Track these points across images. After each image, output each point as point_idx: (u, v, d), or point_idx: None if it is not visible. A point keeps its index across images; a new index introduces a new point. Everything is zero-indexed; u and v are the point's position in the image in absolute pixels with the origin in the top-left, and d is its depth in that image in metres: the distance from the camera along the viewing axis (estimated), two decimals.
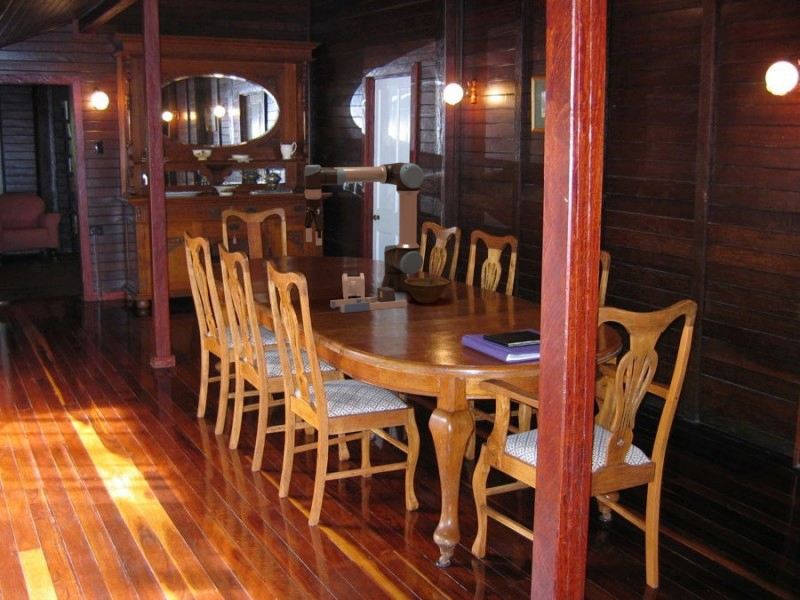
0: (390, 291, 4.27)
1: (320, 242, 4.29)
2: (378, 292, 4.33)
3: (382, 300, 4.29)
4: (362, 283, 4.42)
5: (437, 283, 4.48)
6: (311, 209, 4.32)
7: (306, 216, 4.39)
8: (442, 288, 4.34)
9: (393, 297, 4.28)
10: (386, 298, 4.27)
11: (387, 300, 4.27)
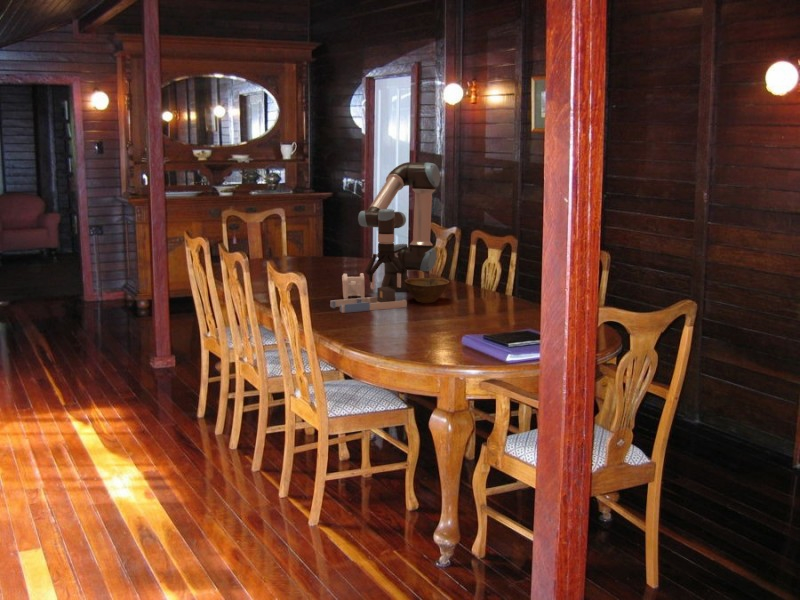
0: (390, 291, 4.27)
1: (372, 286, 4.26)
2: (378, 292, 4.33)
3: (382, 300, 4.29)
4: (362, 283, 4.42)
5: (437, 283, 4.48)
6: None
7: (397, 261, 4.32)
8: (442, 288, 4.34)
9: (393, 297, 4.28)
10: (386, 299, 4.27)
11: (387, 300, 4.27)
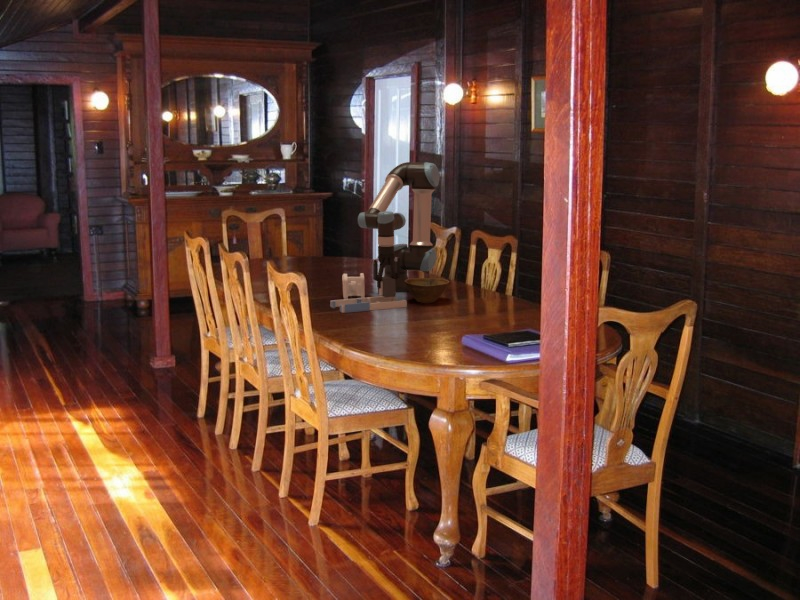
0: (390, 281, 4.26)
1: (380, 292, 4.30)
2: None
3: None
4: (362, 283, 4.42)
5: (437, 283, 4.48)
6: None
7: (394, 265, 4.32)
8: (442, 288, 4.34)
9: (393, 287, 4.28)
10: (387, 288, 4.26)
11: (388, 289, 4.27)
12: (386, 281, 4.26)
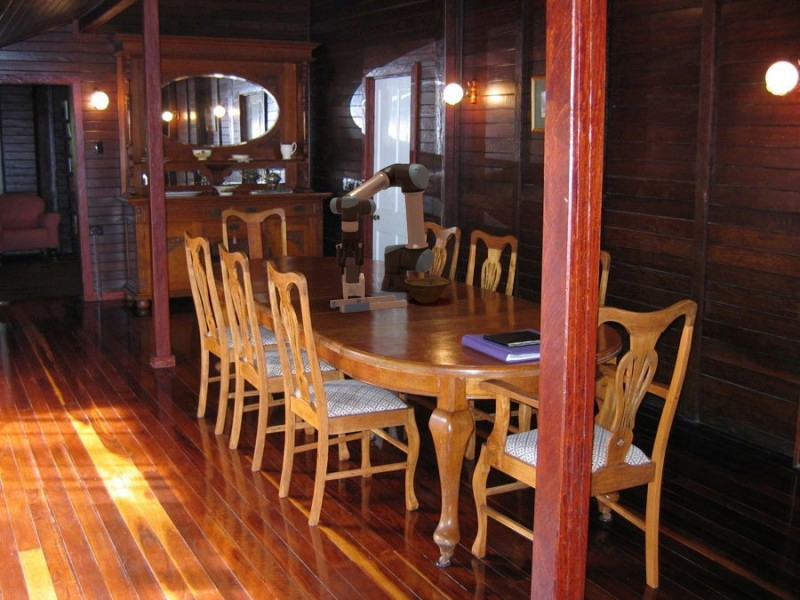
0: (354, 267, 4.17)
1: (344, 279, 4.20)
2: None
3: (346, 276, 4.19)
4: (362, 283, 4.42)
5: (437, 283, 4.48)
6: None
7: (359, 252, 4.23)
8: (442, 288, 4.34)
9: (357, 273, 4.18)
10: (350, 274, 4.17)
11: (351, 276, 4.17)
12: (349, 267, 4.16)
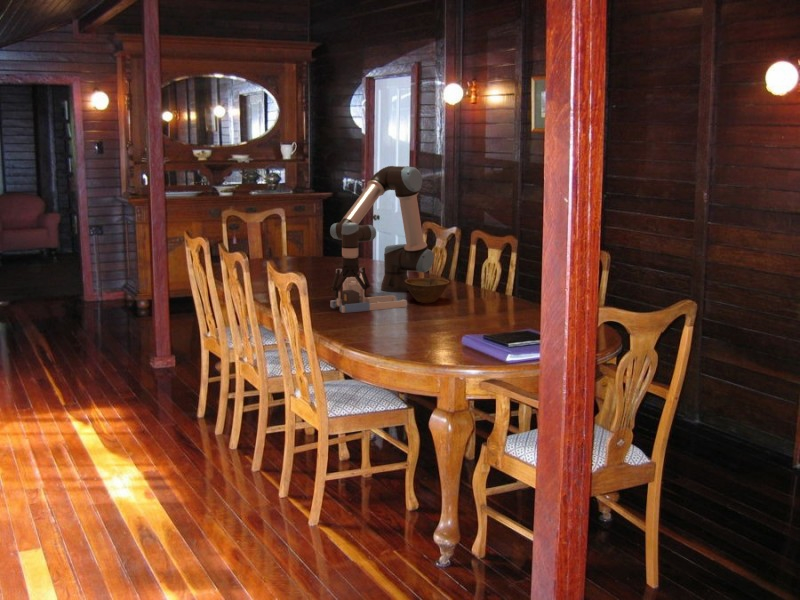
0: (354, 294, 4.19)
1: (338, 302, 4.21)
2: (342, 295, 4.25)
3: (346, 303, 4.22)
4: None
5: (437, 283, 4.48)
6: None
7: (362, 275, 4.25)
8: (442, 288, 4.34)
9: (357, 300, 4.20)
10: (350, 302, 4.19)
11: (351, 303, 4.19)
12: (350, 294, 4.18)
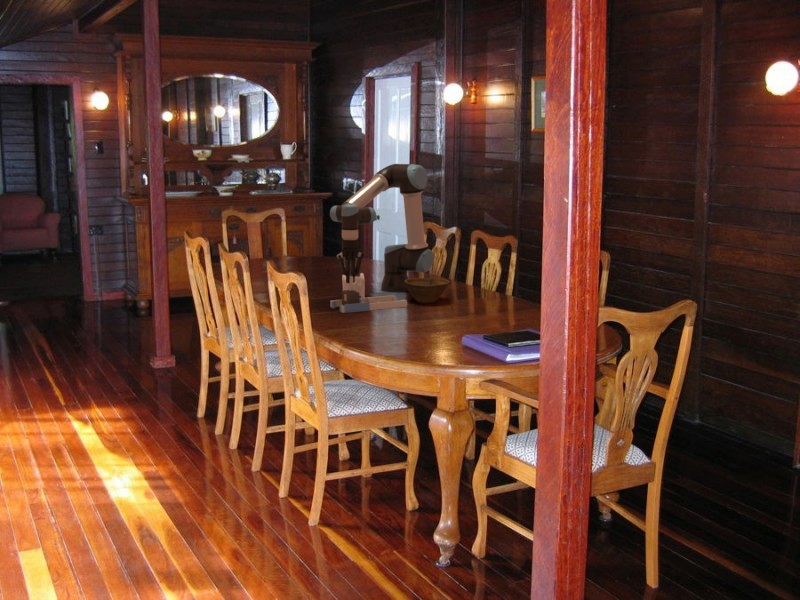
0: (354, 294, 4.19)
1: (349, 287, 4.22)
2: (342, 295, 4.25)
3: (346, 303, 4.22)
4: (362, 283, 4.42)
5: (437, 283, 4.48)
6: None
7: None
8: (442, 288, 4.34)
9: (357, 300, 4.20)
10: (350, 302, 4.19)
11: (351, 303, 4.19)
12: (350, 294, 4.18)
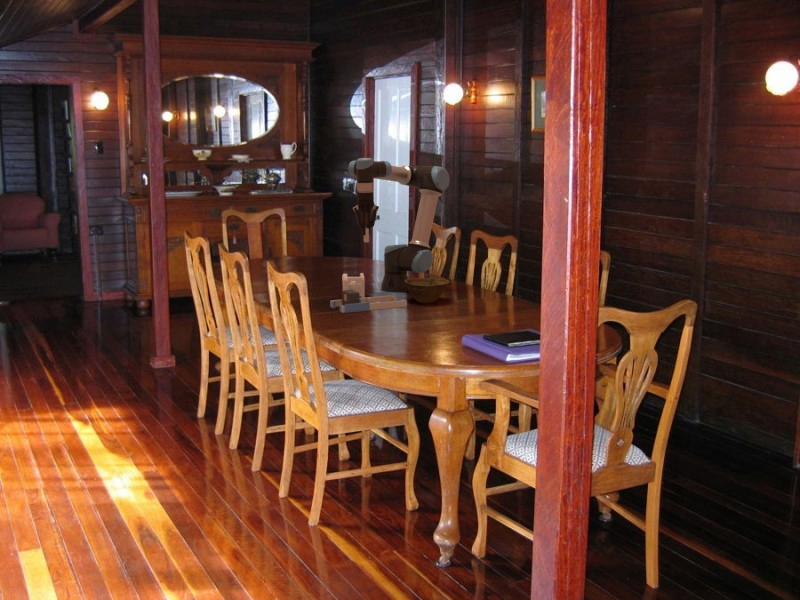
0: (354, 294, 4.19)
1: (365, 239, 4.33)
2: (342, 295, 4.25)
3: (346, 303, 4.22)
4: (362, 283, 4.42)
5: (437, 283, 4.48)
6: None
7: (372, 213, 4.34)
8: (442, 288, 4.34)
9: (357, 300, 4.20)
10: (350, 302, 4.19)
11: (351, 303, 4.19)
12: (350, 294, 4.18)
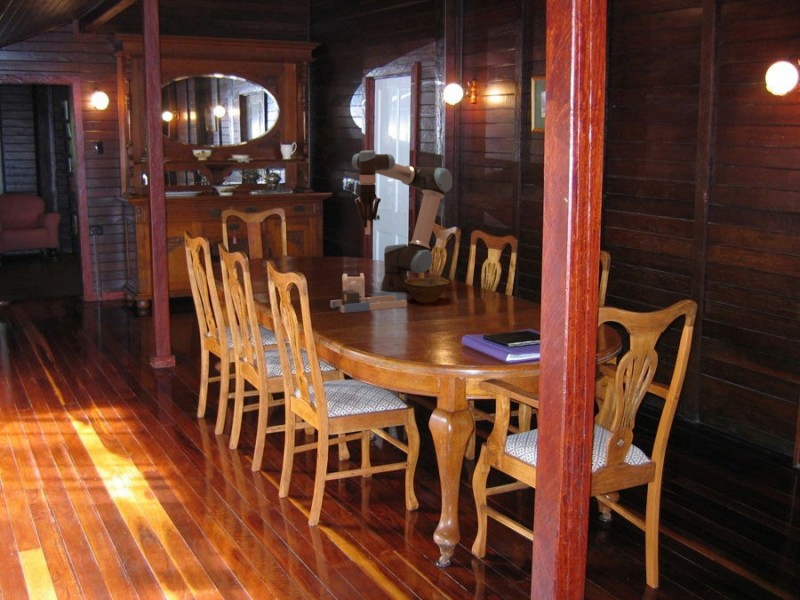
0: (354, 294, 4.19)
1: (366, 231, 4.34)
2: (342, 295, 4.25)
3: (346, 303, 4.22)
4: (362, 283, 4.42)
5: (437, 283, 4.48)
6: None
7: None
8: (442, 288, 4.34)
9: (357, 300, 4.20)
10: (350, 302, 4.19)
11: (351, 303, 4.19)
12: (350, 294, 4.18)
